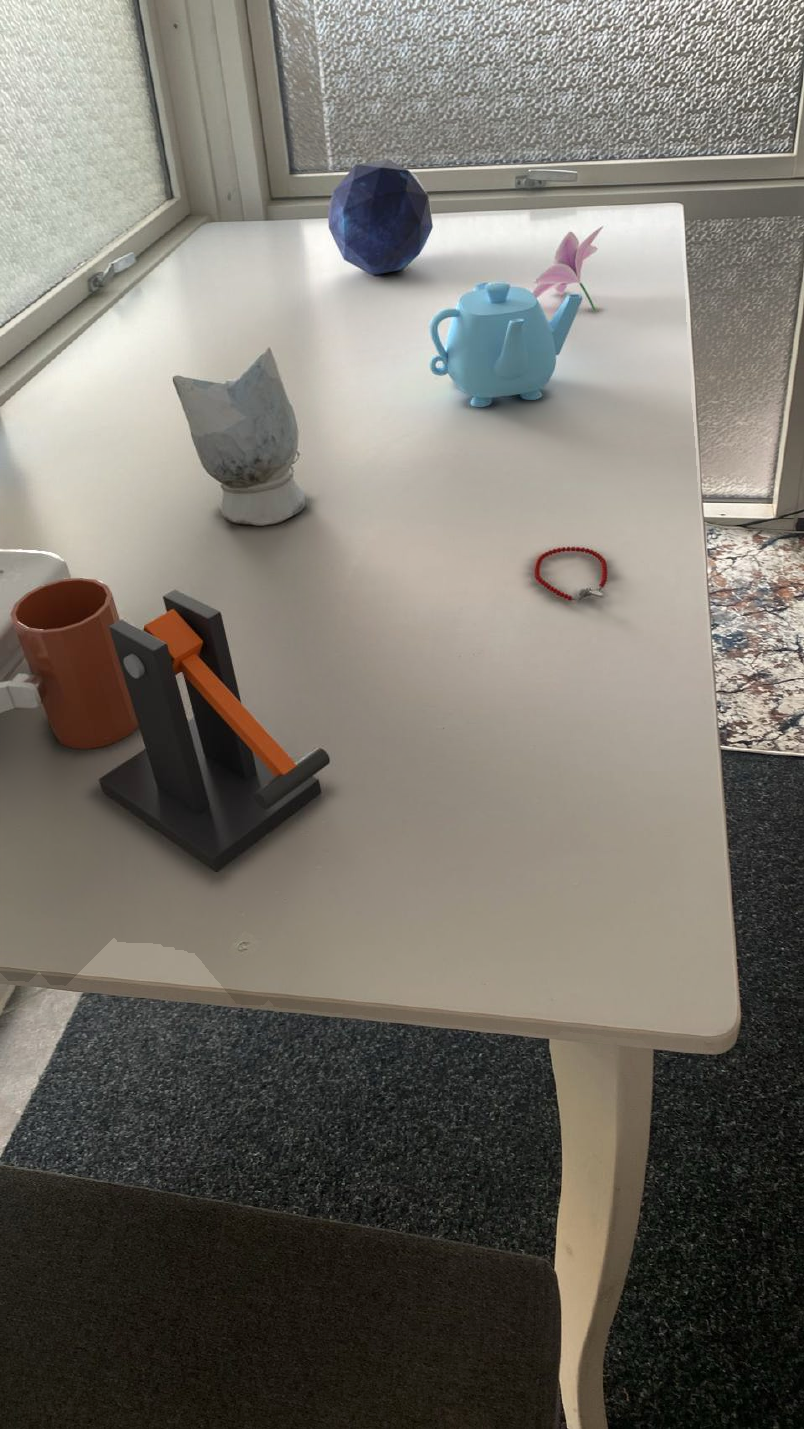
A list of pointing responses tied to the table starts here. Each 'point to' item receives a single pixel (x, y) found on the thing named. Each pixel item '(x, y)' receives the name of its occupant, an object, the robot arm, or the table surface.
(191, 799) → the pivoting lever stand
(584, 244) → the lily
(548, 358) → the teapot
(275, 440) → the figurine
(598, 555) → the red beaded bracelet
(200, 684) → the switch lever
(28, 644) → the cup
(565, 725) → the table surface
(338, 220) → the decorative orb
